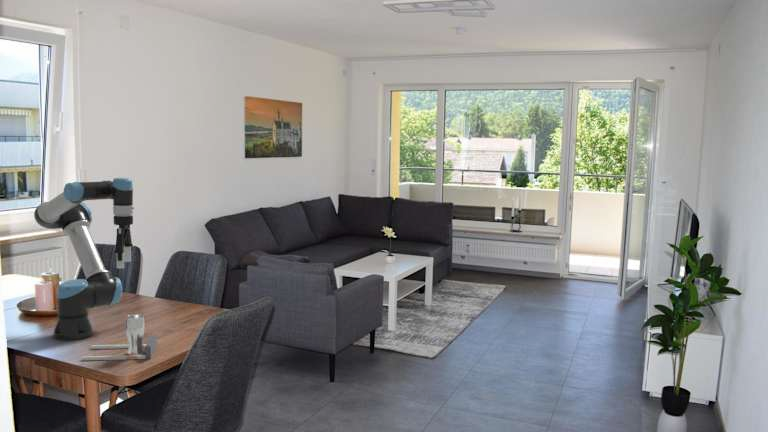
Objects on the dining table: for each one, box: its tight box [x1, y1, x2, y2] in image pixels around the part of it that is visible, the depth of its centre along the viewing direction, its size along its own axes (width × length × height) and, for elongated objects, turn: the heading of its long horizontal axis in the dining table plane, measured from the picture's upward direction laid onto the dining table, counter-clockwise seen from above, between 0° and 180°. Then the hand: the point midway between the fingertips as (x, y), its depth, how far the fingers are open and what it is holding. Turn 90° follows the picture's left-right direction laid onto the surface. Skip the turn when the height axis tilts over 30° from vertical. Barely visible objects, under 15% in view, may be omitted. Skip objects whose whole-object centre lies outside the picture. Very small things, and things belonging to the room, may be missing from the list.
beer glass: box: [125, 313, 145, 355], centre depth 254 cm, size 7×7×15 cm
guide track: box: [81, 334, 158, 362], centre depth 253 cm, size 25×14×5 cm, turn 101°
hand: (124, 265), depth 269 cm, fingers open, 13 cm apart
